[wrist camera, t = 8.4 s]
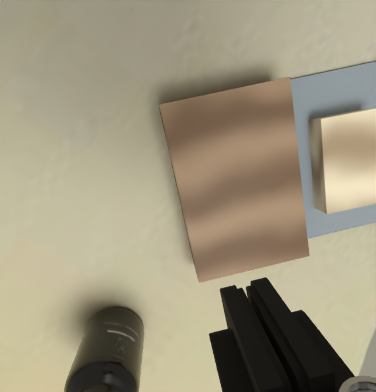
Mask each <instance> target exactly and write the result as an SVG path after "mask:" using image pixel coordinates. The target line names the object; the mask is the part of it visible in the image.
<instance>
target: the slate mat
mask: <svg viewBox="0 0 376 392" xmlns="http://www.w3.org/2000/svg"><path fill="white" fill-rule="evenodd" d="M291 89H292V99H293V108H294V117H295V127H296V136H297V145H298V154H299V164H300V173H301V182H302V192H303V201H304V210H305V220H306V229H307V238H308V239H309V238H313V237H317V236H321V235H325V234H329V233H334V232H338V231H342V230H346V229H350V228H354V227H359V226H363V225H367V224H371V223H375V222H376V204H372V205H368V206H363V207H358V208H354V209H349V210H344V211H340V212H335V213H330V214H325V213H323V212H322V211H320V210H318V209H316V208H314V195H313V182H312V168H311V154H310V141H309V127H308V120H309V119H314V118H320V117H325V116H330V115H335V114H340V113H345V112H350V111H356V110H361V109H372V108H376V62H371V63H366V64H362V65H357V66H352V67H347V68H343V69H338V70H333V71H329V72H324V73H319V74H314V75H310V76H305V77H300V78H295V79H291Z"/></svg>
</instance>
